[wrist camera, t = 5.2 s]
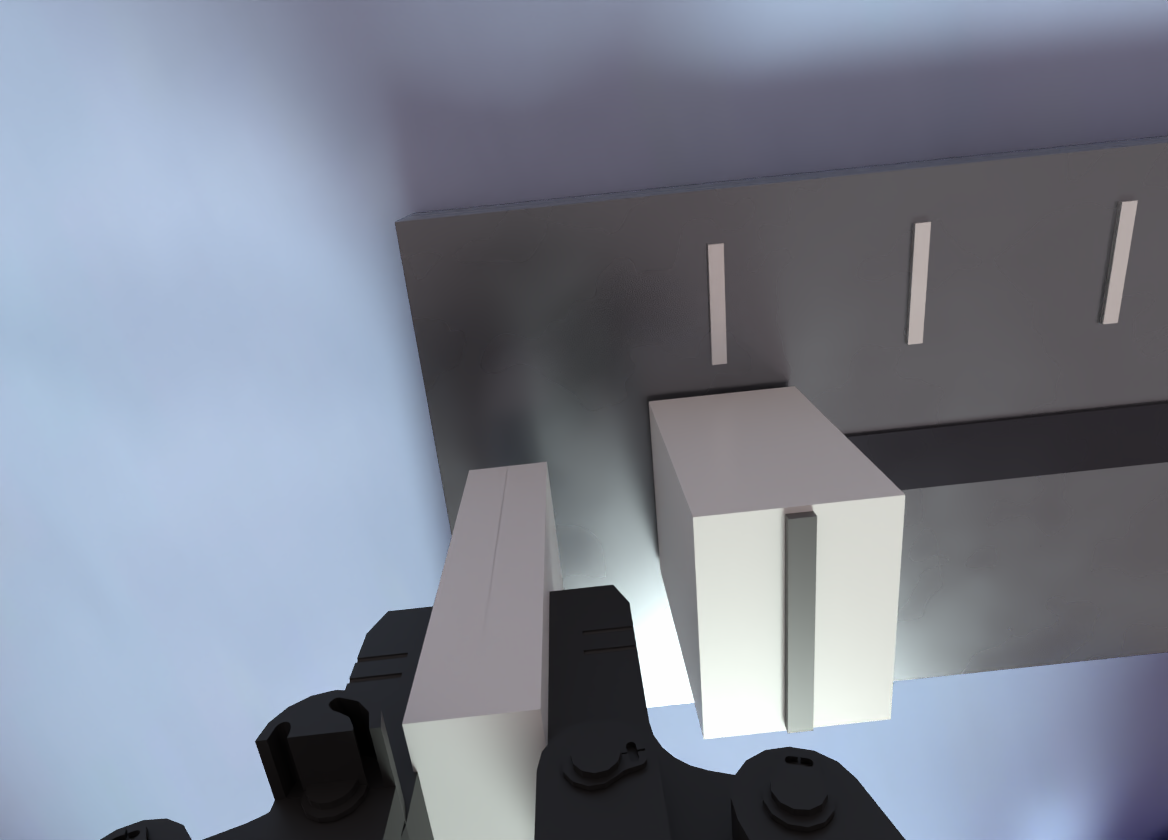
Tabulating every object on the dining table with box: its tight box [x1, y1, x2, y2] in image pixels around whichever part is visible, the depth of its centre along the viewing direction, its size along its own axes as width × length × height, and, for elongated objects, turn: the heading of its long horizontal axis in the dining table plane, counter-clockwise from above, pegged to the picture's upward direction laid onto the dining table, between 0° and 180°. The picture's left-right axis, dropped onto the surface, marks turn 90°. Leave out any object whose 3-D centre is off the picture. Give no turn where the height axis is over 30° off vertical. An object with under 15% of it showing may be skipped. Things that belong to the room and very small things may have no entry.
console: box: [395, 136, 1168, 708], centre depth 17 cm, size 30×12×2 cm, turn 95°
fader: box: [649, 386, 905, 739], centre depth 13 cm, size 3×4×5 cm
